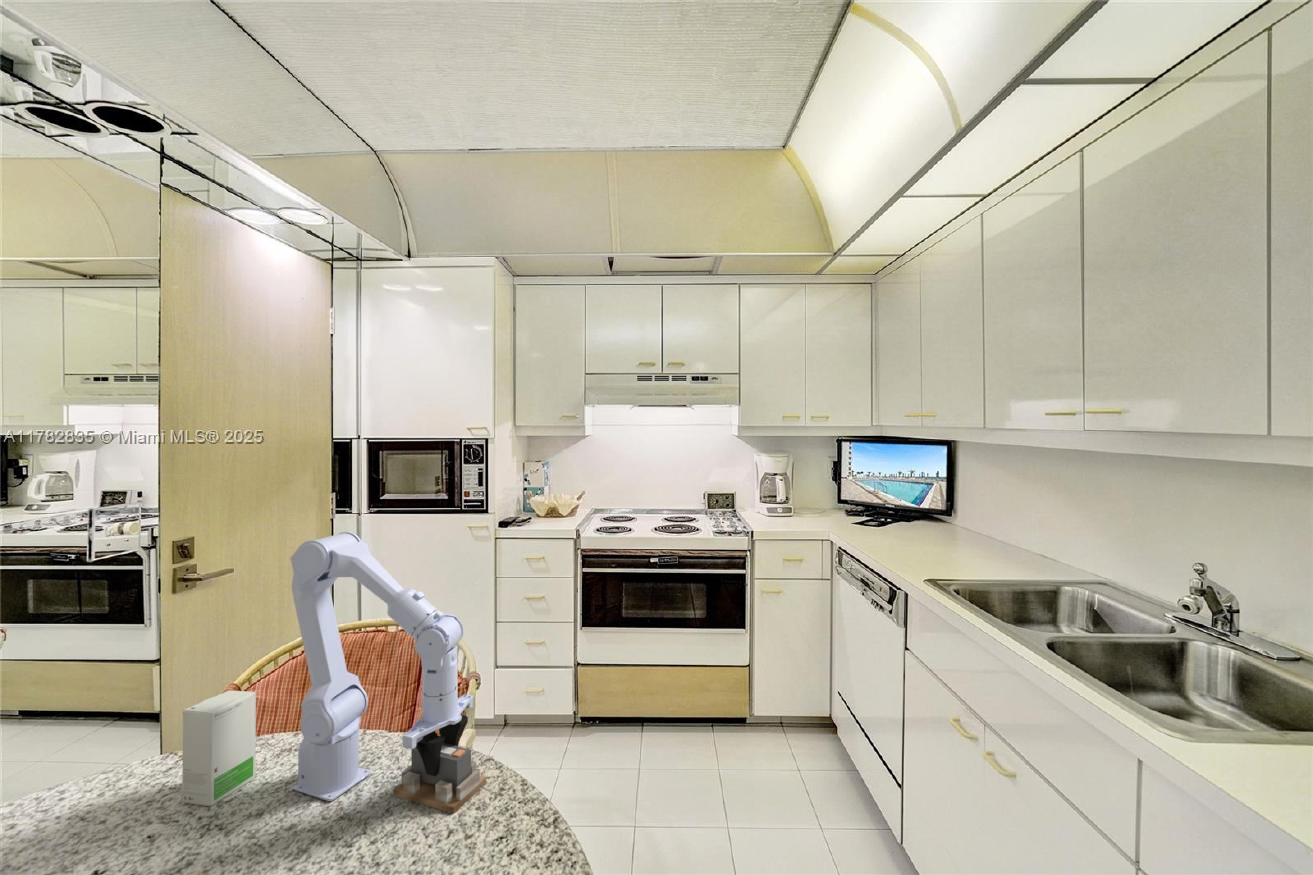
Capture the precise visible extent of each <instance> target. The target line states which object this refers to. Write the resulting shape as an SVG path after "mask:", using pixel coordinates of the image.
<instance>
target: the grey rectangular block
mask: <svg viewBox="0 0 1313 875" xmlns="http://www.w3.org/2000/svg"><path fill="white" fill-rule="evenodd" d="M410 750H411V751H410V752H411V754H410V755H411V765H412V773H416V774H420V781H424V782H427V783H431V784H434V785H436V784H437V783H438V782H439V781H441V780H442V781H445V782H449V783H452V790H456V788H457V787H458V786H459V785H460V784H461V783H462V782H463V781H464V780H466V779H467V778H468V777H469V776H470V775H471V761H472V749H471V748H467V747H462V746H459V745H458V746H454V745H450V744H446V743H443V745H442V748H441V753H440V766H439V772H438V774H437V775H436V776H432V775H428V774H426V771H425V767H424V764H423V760H422V758H421V755H420V753H419V751H418V750H417V748H416V747H415V748H413V749H410Z"/></svg>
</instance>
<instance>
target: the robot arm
mask: <svg viewBox="0 0 1313 875" xmlns="http://www.w3.org/2000/svg"><path fill="white" fill-rule="evenodd" d="M290 561H291V562H290V563H291V567H292V572H293V575H292V582H291V592H292V598H293V602H294V606H295V612H296V617H297V621H298V622H297V623H298V625H299V630H300V634H301V635H300V636H301V640H302V646H303V651H304V655H305V658H306V659H305V660H306V665H307V668H308V669H307V670H308V674H309V675H308V676H309V678H310V683H311V684H310V688H309V689H308V691H307V693H306V694H305V696H304V698H303V700H302V702H301V704H300V707H301V713H302V715H301V719H300V727H299V728H300V731H301V735H302V736H303V739H301V742H300V744H299V747H298V751H297V757H298V758H297V765H298V768H297V770H298V771H297V772H298V773H297V778H298V779H297V780H298V781H297V784H294V786H293V789H292V790H294V791H297V792H300V793H303V794H306V795H307V796H308V795H309V796H311V797H315V798H317V799H321V800H324V801H327V802H332V801H334V800H335V799H337V798H338V797H340V796H341V795H342V794H344V793H346V792H347V791H348V790H350V789H351V788H352V787H354V786H356V785H357V784H359V783H360V782H361V781H363V780H364V779H366V778H368V777H369V776H370V775H371V774H372V772H371V770H369V769H366V768H362V767H360V723H361V722H362V715H363V714H364V713H365V712H366V711H367V708H368V706H369V698H368V694H367V692H366V691H365V689H364V688H363V687H362V684H361V682H360V677H359V676H358V675H357V674H354V673H351V672H349V671H348V669H347V664H346V659H345V655H344V650H343V646H342V641H341V640H342V639H341V637H340V631H339V625H338V622H337V617H336V611H335V606H334V602H333V597H332V593H331V587H332V586H333V585H334V583H335V582H336V581H337V579H338V578H353V579H354V580H356V581H357V582H358V583H359V584H361V585H362V586H363V587H365V588H366V589H367V590H369V591H370V592H371V593H372V594H373V595H375V596H377V598H378V599H380V600H381V601H383V602H384V603H385V604H386V605H387V616H388V617H389V618H390V619H392V620H393V621H394V622H395V623H396V624H397V625H398V626H399V627H401V629H402V630H403V631H405V633H407V634H408V635H409V636H410V637H411V638H412V639H414V640H415V642H414V645H413V646H414V649H415V652H416V654H417V655H418V656H419V657H420V661H421V665H420V666H421V667H422V668H421V671H422V672H421V673H422V674H421V680H422V687H421V688H422V689H421V692H422V695H421V697H422V698H421V699H422V702H421V704H422V705H421V707H422V708H421V710H422V711H421V712H422V715H421V716H420V718H418V720H417V721H416V722H415V724H413V726H412V727H410V729H409V730H408V731H406V732H405V733H404V734H403V735H402V748H405V749H408V750H411V749H413V748H415V747H416V748H417V750H418V751H419V753H420V755H421V758H422V760H423V764H424V767H425V771H426V774H428V775H432V776H436V775H437V774H438V772H439V766H440V753H441V748H442V745H443V743H446V744H450V745H454V746H458V747H459V743H460V741H461V737H462V736H463V735H462V734H463V732H464V731H465V728H466V726H467V724H468V722H469V721H468V720H469V718H468V716H467V715H463V714H462V713H463V712H464V711H465V710H466V709H468V710H469V709H471V708H472V707H474V696H473V695H470V694H462V695H461V696H460V697H458V695H459V694H458V689H459V688H458V687H459V686H458V685H459V683H458V681H459V680H458V678H459V676H458V673H459V672H458V643H459V642H460V641H461V640H462V638H463V636H464V628H463V625H462V622H461V621H460V620H459V619H458V616H456V615H454V614H451V613H450V614H449V613H443V612H442V610H438V609H437V608H436V607H435V606H434V605H432V604H431V603H430V602H429V601H428V600H427V599H426V598H425V594H424V593H423V592H422V591H421V590H419V591H418V590H417V589H414V588H411V589H410V588H409V589H405V588H403V587H402V585H401V584H400V583H398V581H396V579H395V578H394V577H393V576H392V575H391V574H390V573H389V572H388V571H387V570H386V569H385V567H383V566H382V564H381V563H380V562H379V561H378V560H377V559H376V558H375V557H374V556H373V555H372V554H371V553H370V549H369V545H368V544H367V543H366V542H365V541H363V540H361V538H360V537H359V536H358V535H357V534H356V533H355V532H351V531H343V532H340V533H338V534H334V535H329V536H326V537H322V538H317V539H310V540H309V539H308V540H306V541H303V543H301V544H300V545H299V546H298V548H297V549H296V550H295V551H294V553H293V554H292V555H291V556H290ZM437 730H438V731H439V735H438V732H436V731H437Z"/></svg>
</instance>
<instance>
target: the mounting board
mask: <svg viewBox="0 0 1313 875" xmlns="http://www.w3.org/2000/svg"><path fill="white" fill-rule="evenodd" d="M486 783H487V777H486V776H483V775H481V774H480V770H477V762H476V761H472V760H471V775H470V776H469V777H468V778H467V779H466V780H464V781H463V782H462V783H461V784H460V785H459V786H458V787H457V788H456V790H452V783H449V782H445V781H442V780H441V781H439V782H438V783H437V784H436V785H434V784H431V783H427V782H424V781H420V774H416V773H412V764H411V765H410V766H408V767H407V768H406V769H404V770H402V771H401V783H400V784H399V785H397V786H396V787H395V788H394V789H393V796H394V797H398V798H401V799H404V800H407V801H411V802H414V803H418V804H422V805H424V806H428V807H431V808H435V809H437V810H441V811H444V812H448V813H451V814H455V813H456V812H457V811H459V809H461V807H462V806H464V805H465V804H466V803H467V802H468V801H469V800H470V799H471V798H472V797H473V796H474V795H475V794H476V793H477V792H479V790H481V788H483V787H484V785H486Z"/></svg>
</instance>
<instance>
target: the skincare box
mask: <svg viewBox="0 0 1313 875" xmlns="http://www.w3.org/2000/svg"><path fill="white" fill-rule="evenodd" d="M256 693H257V692H255V691H244V690H226V691H225V692H223V693H220V694H218V695H215V696H213V697H210V698H207V699H204V700H202V701H201V702H198V703H196V704H195V705H192V706H190V707H188V708H185V709H183V710H182V772H181V773H182V782H181V783H182V784H181V785H182V788H181V802H182V803H185V804H191V805H198V806H204V807H212V806H214V805H215V804H217V803H218V802H219V801H222V800H223V799H225V798H226V797H227V796H230V795H231V794H232V793H234V792H235V791H237V790H239V789H240V788H242V787H243V786H245V785H247V784H248V783H249V782H251V781H253V780H254V779H256V776H257V774H256V770H257V769H256V758H257V756H256V724H257V723H256V718H257V717H256V716H257V715H256V714H257V713H256V712H257V710H256V709H257V706H256V704H257V702H256V701H257V700H256V698H257V697H256V696H257V695H256Z"/></svg>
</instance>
